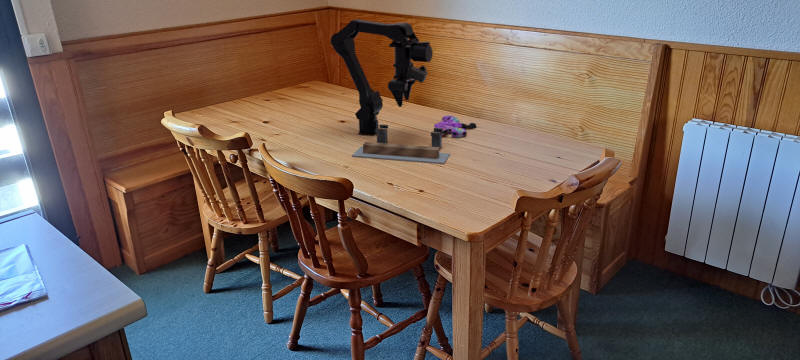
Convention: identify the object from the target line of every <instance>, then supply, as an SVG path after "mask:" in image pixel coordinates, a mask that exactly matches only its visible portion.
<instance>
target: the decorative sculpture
mask: <svg viewBox="0 0 800 360" xmlns="http://www.w3.org/2000/svg"><path fill="white" fill-rule="evenodd" d="M433 127H434V128H443V132H439V133H442V135H445V134H447V133H450V135H451V136H452V137H453V138H457V139H458V138H463V137H465V136H466V135H467V133H468V132H467V130H466V129H476V128H477V124H476V122H475V123H474V122H470V123H468V124H466V123H462V122H460V120H459V118H457V117H455V116H453V115H444V116H442V119H441V121H440V122H437V123H435V124H434V125H433Z"/></svg>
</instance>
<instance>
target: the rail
mask: <svg viewBox="0 0 800 360" xmlns="http://www.w3.org/2000/svg"><path fill="white" fill-rule="evenodd" d="M362 147H363V153H369V154H382V155H394V156H407V157H420V158H433V159H438V157H439V153H440V149H439V147H432V146H426V145H425V146H424V145H412V144H411V145H410V144H399V143H387V144H386V143H377V142H370V141H365V142H364V143H363V144H362Z"/></svg>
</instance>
